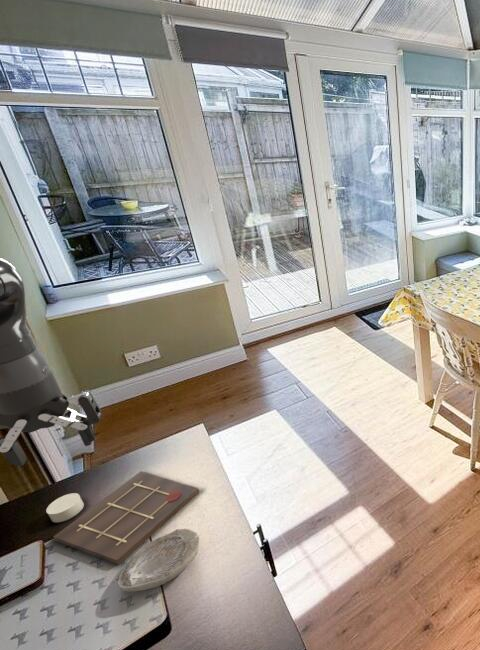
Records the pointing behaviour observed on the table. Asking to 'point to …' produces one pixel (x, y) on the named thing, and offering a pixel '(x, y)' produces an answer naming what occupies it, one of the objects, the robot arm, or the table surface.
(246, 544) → the table surface
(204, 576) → the table surface
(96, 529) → the board
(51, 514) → the stone
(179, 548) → the fossil
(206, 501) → the table surface
